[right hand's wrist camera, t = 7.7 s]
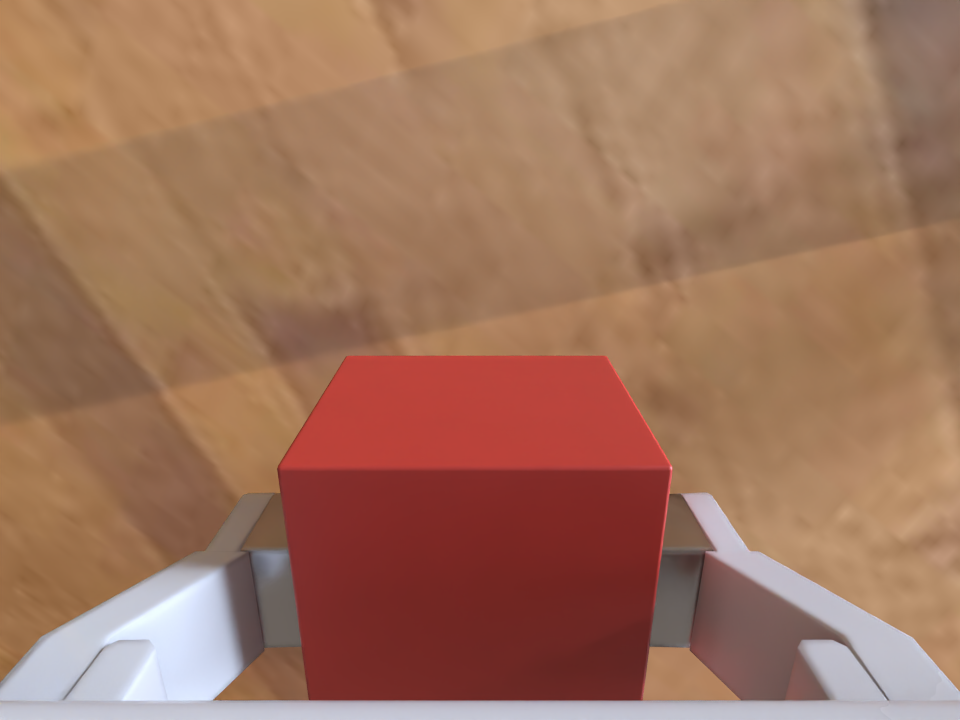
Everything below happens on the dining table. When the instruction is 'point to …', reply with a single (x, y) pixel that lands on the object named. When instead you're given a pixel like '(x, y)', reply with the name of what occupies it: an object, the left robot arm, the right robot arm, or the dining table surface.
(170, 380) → the dining table surface
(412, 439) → the brick
